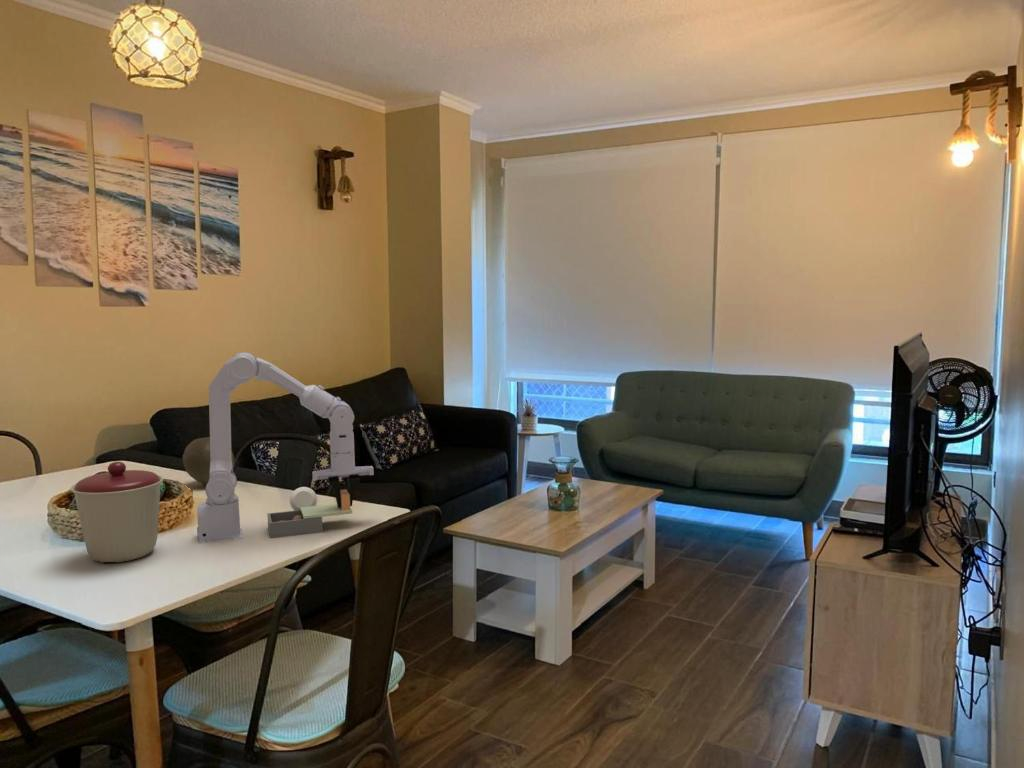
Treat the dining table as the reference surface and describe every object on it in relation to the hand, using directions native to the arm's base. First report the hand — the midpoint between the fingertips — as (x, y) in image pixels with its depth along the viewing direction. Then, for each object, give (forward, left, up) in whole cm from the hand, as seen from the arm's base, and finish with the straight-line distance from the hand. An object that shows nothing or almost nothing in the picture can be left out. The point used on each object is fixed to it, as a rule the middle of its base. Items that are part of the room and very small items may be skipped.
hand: (344, 505), depth 189 cm
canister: (-49, -3, -5) cm, 49 cm away
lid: (-4, 0, -1) cm, 5 cm away
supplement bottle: (-8, +17, -2) cm, 19 cm away
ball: (-11, +2, -4) cm, 12 cm away
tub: (-12, 0, -5) cm, 13 cm away
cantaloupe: (-32, +59, -5) cm, 67 cm away
